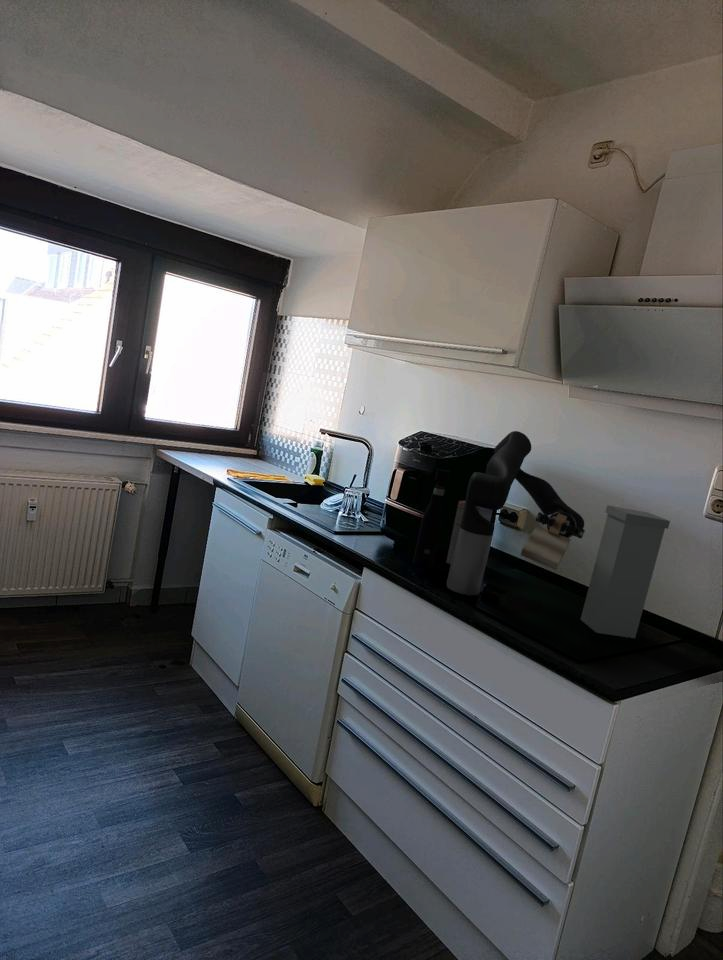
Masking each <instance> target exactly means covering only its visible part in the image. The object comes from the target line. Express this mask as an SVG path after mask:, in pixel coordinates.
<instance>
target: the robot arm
mask: <svg viewBox="0 0 723 960" xmlns="http://www.w3.org/2000/svg"><path fill="white" fill-rule="evenodd" d="M531 451H532V443H531V441H530V438H528V436H527V435H526V434H525V433H523V432H521V431H518V430H514V431H510V432H509V433H508V434H507V435H506V436H505V437H504V438H502V439H501V441H499V443H498V444H497V445H495V446H494V448H493V453H494V454H493V455H492V456H491V457H490V459H489V461H488V462H487V464H486V468H485V471H486V472H479V471H475V472H473V473H472V475H471V476H470V478H469V481H468V484H467V489H466V495H465V500H464V501H465V506H464V511H463V516H462V520H461V525H460V529H459V534H458V538H457V543H456V547H455V552H454V553H453V557H452V561H451V565H450V564H449V565H450V566H449V570H448V574H447V579H446V587H447V589H449V590H450V591H453V592H455V593H456V594H457V593H458V594H461V595H464V594H465V595H466V596H471V595H476V596H479V595H480V593H481V592H480V591H481V588H482V583H483V580H484V575H485V572H486V571H485V570H486V566H487V562H488V558H489V553H490V548H491V545H492V542H493V541H492V540H493V537H494V532H495V524H494V523H493V522H491V520H490V521H488V520H487V519H485V518H484V517H483V516H482V515H481V514H480V513H479V512H478V510H477V506H478V507H482V508H486V509H490V510H492V511H499V510H501V509H502V508H503V507H504V506H505V504H506V502H507V499H508V497H509V493H510V491H511V487H512V485H513V483H514V481H515V480H516V482H517V483H519V484H520V485H521V486H522V488H523V489H524V490H525V491H526V492H527V494H529V496H530V497H531V498H532V500H533V501H534V503H535V504H536V505H537V507H538V508H539V510H540V512H538V513H537V515H536V518H535V521H536V522H537V523H540V524H542V525H543V526H544V525H546V530H549V529H550V527H551V526H552V525H553V523H554V521H555V519H556V517H557V515H558V514H562V515H565V516H567V519H566V522H565V523H563V524H562V526H561V529H560V531H561V532H560V534H559V535H561V536H564V537H566V538H569V539H571V538H572V537H576V538H578V539H583V537H584V534H585V531H586V530H585V529H584V528H585V521H584V520H585V519H584V518H583V517H582V516H581V514H580V513H578V512H577V511H575V510H574V509H573V508H571V507H570V506H569V505H567V503H566V502H564V501H563V499H562V498H561V497H560V496H559V494H558V493H557V491H556V490H555V489H554V487H553V486H552V485H551V484H550V483H549V482H548V481H546V480H545V479H543V478H540V477H538V476H535V475H532V474H530V473H528V472H525V471H524V470H523V469H522V465H523V463H524V460H525V458H526V457H527V456H528V455H529V454H530V453H531Z"/></svg>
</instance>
